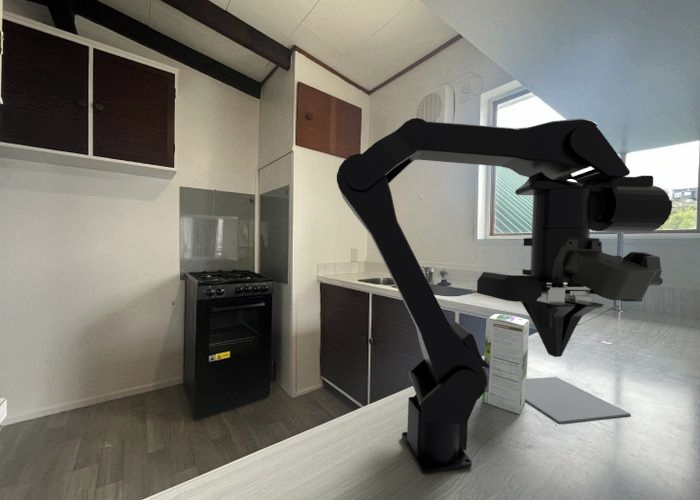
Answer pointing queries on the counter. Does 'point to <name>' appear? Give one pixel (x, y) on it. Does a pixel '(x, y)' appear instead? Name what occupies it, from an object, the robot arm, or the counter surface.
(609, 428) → the counter surface
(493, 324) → the syrup box
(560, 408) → the mat
